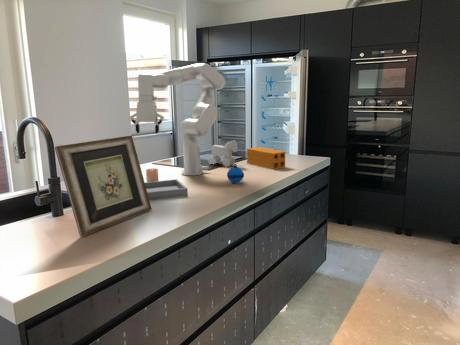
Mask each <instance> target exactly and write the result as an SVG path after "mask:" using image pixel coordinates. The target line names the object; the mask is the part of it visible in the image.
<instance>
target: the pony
mask: <svg viewBox="0 0 460 345" xmlns="http://www.w3.org/2000/svg"><path fill="white" fill-rule="evenodd" d="M210 148H211V150H210V151H211V156H209V157H208V158H207V159H208V160H207V162H208V164H209V165H210V164H213V165H212V166H215V165H217V164H216V163H219V164H220V163H221V162H222V165H223V167H226V168H228V167H230V166H234V164H236V159H235V156H232V155H233V153H236V152H238V151H239V150H238V143H237V142H236V139H234V140H231V141H228V142H227V143H226V144H225V145H218V144H213V145H212V146H211V147H210ZM221 157H223V158H221ZM214 164H215V165H214Z"/></svg>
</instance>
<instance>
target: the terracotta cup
mask: <svg viewBox="0 0 460 345" xmlns="http://www.w3.org/2000/svg"><path fill="white" fill-rule="evenodd" d="M145 178H146V182H155V181H160V180H159V169H158V168H154V167H153V168H147V169H145Z"/></svg>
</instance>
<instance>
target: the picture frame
mask: <svg viewBox="0 0 460 345" xmlns="http://www.w3.org/2000/svg"><path fill="white" fill-rule="evenodd" d="M54 150H55V154H56V157H57V160H58V164H59V167H60V168H59V169H60V172H61V174H62V178H63V180H64V181H63V182H64V184H65V185H64V186H65V188H66V192H67V196H68V199H69V203H70V205H71V209H72V213H73V217H74V220H75V224H76V227H77V230H78V235H79V237H82V238H83V237H84V236H86V235H90V234H93V233H95V232H97V231H100V230H102V229H105V228H108V227H111V226H113V225H116V224H118V223H120V222H121V223H122V222H123V221H125V220H129V219H131V218H133V217H136V216H139V215H141V214H144V213H146V212H149V211H152V209H153V208H152V205H151V200H149V197H148V193H147V190H146V186H145V179H144V174H143V171H142V169H141V168H142V167H141V164H140V161H139V156H138V152H137V150H136V146H135V142H134V139H133V135H126V136H119V137H112V138H106V139H98V140H90V141H84V142H79V143H70V144H64V145H57V146H56V145H55V146H54Z"/></svg>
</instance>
